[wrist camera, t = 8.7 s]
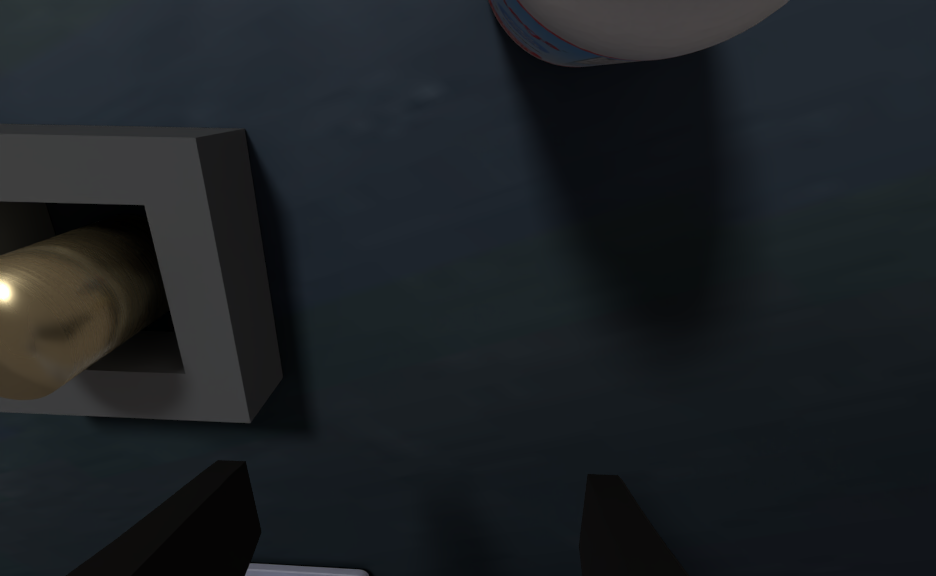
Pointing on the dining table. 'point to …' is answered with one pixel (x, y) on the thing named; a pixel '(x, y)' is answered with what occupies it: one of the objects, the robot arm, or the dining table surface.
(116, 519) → the dining table surface
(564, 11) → the pill bottle
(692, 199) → the dining table surface
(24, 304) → the brass cylinder
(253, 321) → the coupling block
